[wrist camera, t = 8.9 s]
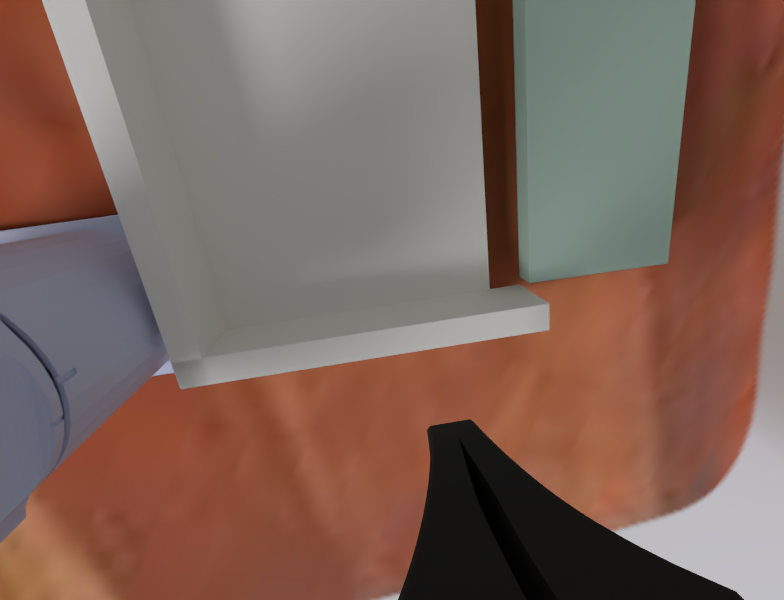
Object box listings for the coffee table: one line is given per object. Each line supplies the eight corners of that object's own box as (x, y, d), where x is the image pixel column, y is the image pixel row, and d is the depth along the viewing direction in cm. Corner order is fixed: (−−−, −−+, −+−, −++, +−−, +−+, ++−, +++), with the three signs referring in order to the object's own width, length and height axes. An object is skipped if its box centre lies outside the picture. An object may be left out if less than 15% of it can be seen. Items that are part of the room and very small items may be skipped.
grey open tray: (218, 343, 19) (180, 389, 15) (62, -170, 13) (-79, -337, 9) (508, 298, 20) (549, 330, 16) (491, -209, 14) (551, -381, 10)
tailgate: (529, 283, 17) (667, 263, 17) (521, -224, 12) (721, -248, 12) (519, 276, 18) (649, 257, 18) (508, -189, 13) (690, -210, 13)
